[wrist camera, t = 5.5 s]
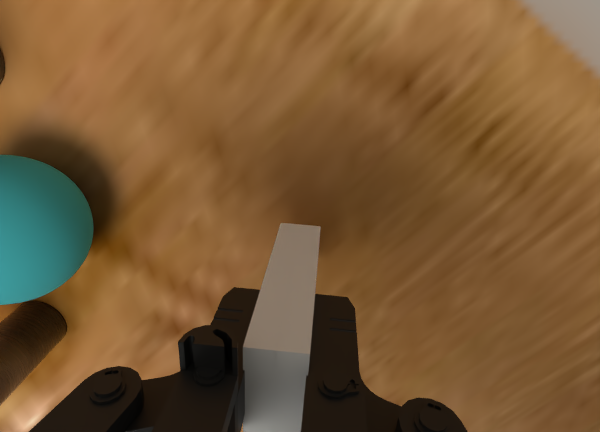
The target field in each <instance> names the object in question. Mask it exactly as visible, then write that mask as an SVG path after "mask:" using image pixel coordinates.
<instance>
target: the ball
mask: <svg viewBox="0 0 600 432" xmlns="http://www.w3.org/2000/svg"><path fill="white" fill-rule="evenodd" d="M92 239H93V218H92V213H91V209H90V207H89V204H88V202H87V200H86V198H85V196H84V195H83V193H82V192H81V190H80V189H79V188H78V187H77V185H76V184H75V183H74V182H73V181H72V180H71V179H69V178H68V177H67V176H66V175H65V174H63V173H62V172H60V171H59V170H57V169H55V168H54V167H52V166H50V165H48V164H45V163H43V162H40V161H38V160H34V159H31V158H27V157H22V156H15V155H0V305H5V304H14V303H21V302H25V301H29V300H32V299H36V298H38V297H41V296H43V295H45V294H47V293H50V292H51V291H53V290H55V289H56V288H58V287H59V286H61V285H62V284H64V283H65V282H66V281H67V280H68V279H70V278H71V277H72V276H73V275H74V274H75V273H76V271H77V270H78V269H79V268H80V266H81V265H82V264H83V262H84V260H85V259H86V257H87V255H88V252H89V250H90V247H91V244H92Z"/></svg>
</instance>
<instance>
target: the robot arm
mask: <svg viewBox="0 0 600 432" xmlns="http://www.w3.org/2000/svg"><path fill="white" fill-rule="evenodd" d="M320 230H321V226H312V225H300V224H289V223H281V224H280V227H279V230H278V234H277V237H276V240H275V243H274V247H273V250H272V253H271V256H270V260H269V263H268V266H267V270H266V273H265V276H264V279H263V283H262V286H261V289H260V290H256V289H245V288H235V287H234V288H233V289H231V290H230V291H229V292H228V293H227V294H225V295H224V296H223V298H222V300H221V302H220V304H219V307H218V310H217V311H216V314H215V316H214V320H212V323H211V325H205V326H201V327H198V328H194V329H192V330H191V331H189V332H187V333H186V334H184V335H183V337H182V338H181V339H180V340H179V341H178V347H179V358H180V369H181V370H180V372H177V373H175V374H173V375H170V376H165V377H161V378H154V379H148V380H141V378H140V376H139V374H138V372H136V371H135V370H133V369H131V368H128V367H121V366H117V367H110V368H106V369H103V370H101V371H98V372H96V373H94V374H92V375H91V376H90V377H88V378H87V379H85V380H84V381H83V382H82V383H81V384H80V385H79V386H78V387H76V388H75V389H74V390H73V391H72V392H71V393H70V394H69V395H68V396H67V397H66V398H65V399H64V400H62V401H61V402H60V403H59V404H58V405H57V406H56V407H55V408H54V409H53V410H52V411H51V412H50V413H48V414H47V415H46V416H45V417H44V418H43V419H42V420H41V421H40V422H39V423H38V424H37V425H36V426H34V427H33V428H32V429H31V430H30V431H29V432H240V431H241V427H242V423H243V432H467V430H466V428H465V427H464V425H463V423H462V422H461V420H460V419H459V418H458V417H457V415H456V414H455V413H454V412H453V411H452V410H451V409H449V408H448V407H446V406H445V405H444V404H442V403H440V402H437V401H435V400H432V399H428V398H415V399H412V400H408V401H407V402H406V403H405V404H404V405H403V406H402V407H401V406H399V405H396V404H394V403H391V402H389V401H386V400H384V399H382V398H380V397H378V396H377V395H375V394H374V393H373V392H371V391H370V390H369V389H368V388H367V387H366V385H365V384H364V383H363V381H362V379H361V376H360V372H359V361H358V346H357V333H356V317H355V308H354V306H353V305H352V303H351V302H350V300H349V299H348V297H340V296H330V295H319V294H315V289H316V277H317V265H318V253H319V242H320Z"/></svg>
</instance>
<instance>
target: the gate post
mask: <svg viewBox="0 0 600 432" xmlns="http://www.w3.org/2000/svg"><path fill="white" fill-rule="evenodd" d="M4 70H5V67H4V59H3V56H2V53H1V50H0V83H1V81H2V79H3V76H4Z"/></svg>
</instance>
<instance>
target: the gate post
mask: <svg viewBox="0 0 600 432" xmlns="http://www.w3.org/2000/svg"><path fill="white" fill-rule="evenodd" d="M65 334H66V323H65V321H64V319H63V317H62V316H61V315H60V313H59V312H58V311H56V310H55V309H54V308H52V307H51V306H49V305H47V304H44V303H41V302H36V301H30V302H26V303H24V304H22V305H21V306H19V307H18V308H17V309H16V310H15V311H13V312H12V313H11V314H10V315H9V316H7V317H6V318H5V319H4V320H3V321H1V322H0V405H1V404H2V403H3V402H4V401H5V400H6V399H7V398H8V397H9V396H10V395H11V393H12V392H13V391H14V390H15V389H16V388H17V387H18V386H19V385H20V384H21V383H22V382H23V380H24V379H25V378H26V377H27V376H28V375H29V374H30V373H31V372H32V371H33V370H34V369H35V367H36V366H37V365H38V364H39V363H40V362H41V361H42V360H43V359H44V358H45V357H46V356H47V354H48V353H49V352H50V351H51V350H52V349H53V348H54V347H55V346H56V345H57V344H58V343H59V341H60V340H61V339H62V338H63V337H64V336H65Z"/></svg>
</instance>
